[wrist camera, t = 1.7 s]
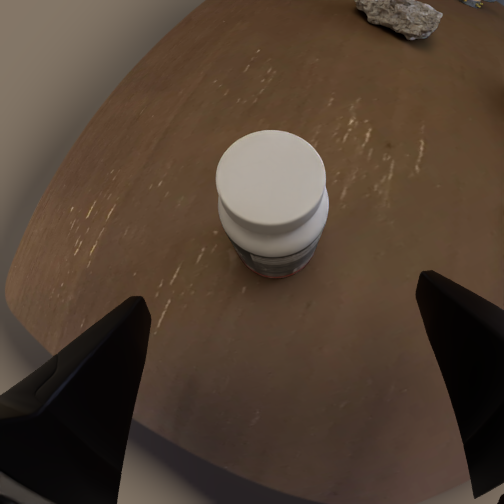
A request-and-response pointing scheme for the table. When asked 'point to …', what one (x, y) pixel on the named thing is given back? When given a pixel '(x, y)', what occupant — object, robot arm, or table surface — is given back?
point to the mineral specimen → (402, 16)
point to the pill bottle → (272, 201)
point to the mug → (475, 2)
